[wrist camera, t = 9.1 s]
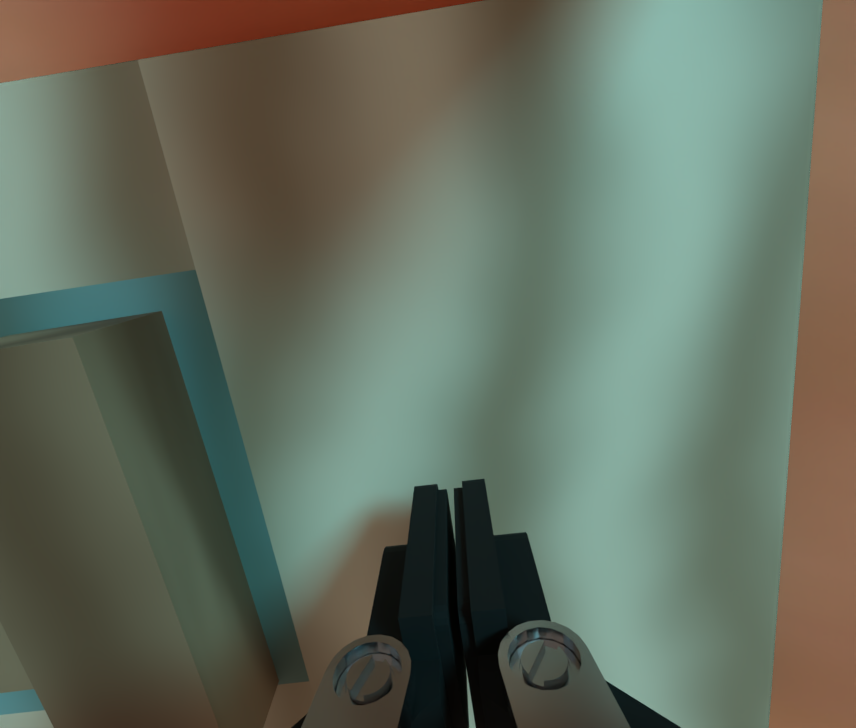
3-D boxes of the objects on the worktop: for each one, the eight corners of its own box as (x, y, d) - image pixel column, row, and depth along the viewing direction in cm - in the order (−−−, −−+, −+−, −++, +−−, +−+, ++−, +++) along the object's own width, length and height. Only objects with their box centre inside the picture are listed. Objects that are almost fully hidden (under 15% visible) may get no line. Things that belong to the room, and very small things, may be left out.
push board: (790, -32, 10) (827, -58, 9) (747, 709, 16) (767, 738, 15) (-433, 175, 12) (-511, 170, 11) (-59, 791, 18) (-88, 823, 17)
